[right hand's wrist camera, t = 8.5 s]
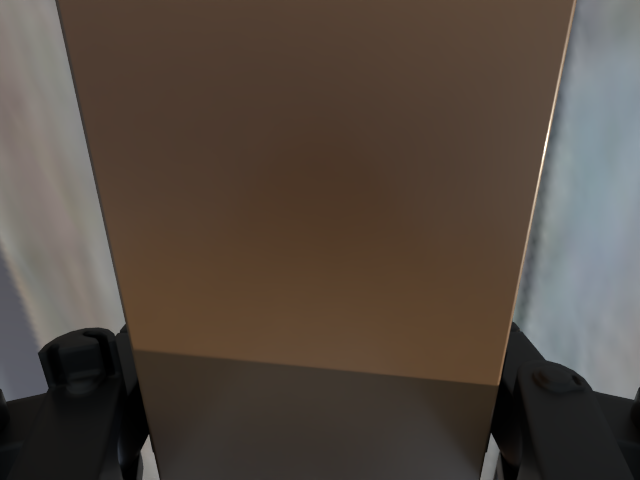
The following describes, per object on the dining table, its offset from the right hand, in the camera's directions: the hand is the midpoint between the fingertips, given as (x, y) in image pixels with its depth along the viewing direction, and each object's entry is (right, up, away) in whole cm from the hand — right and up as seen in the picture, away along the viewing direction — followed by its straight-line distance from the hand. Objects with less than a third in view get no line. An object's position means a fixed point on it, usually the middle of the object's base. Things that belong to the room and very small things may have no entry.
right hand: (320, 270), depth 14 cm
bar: (0, +32, -12) cm, 34 cm away
